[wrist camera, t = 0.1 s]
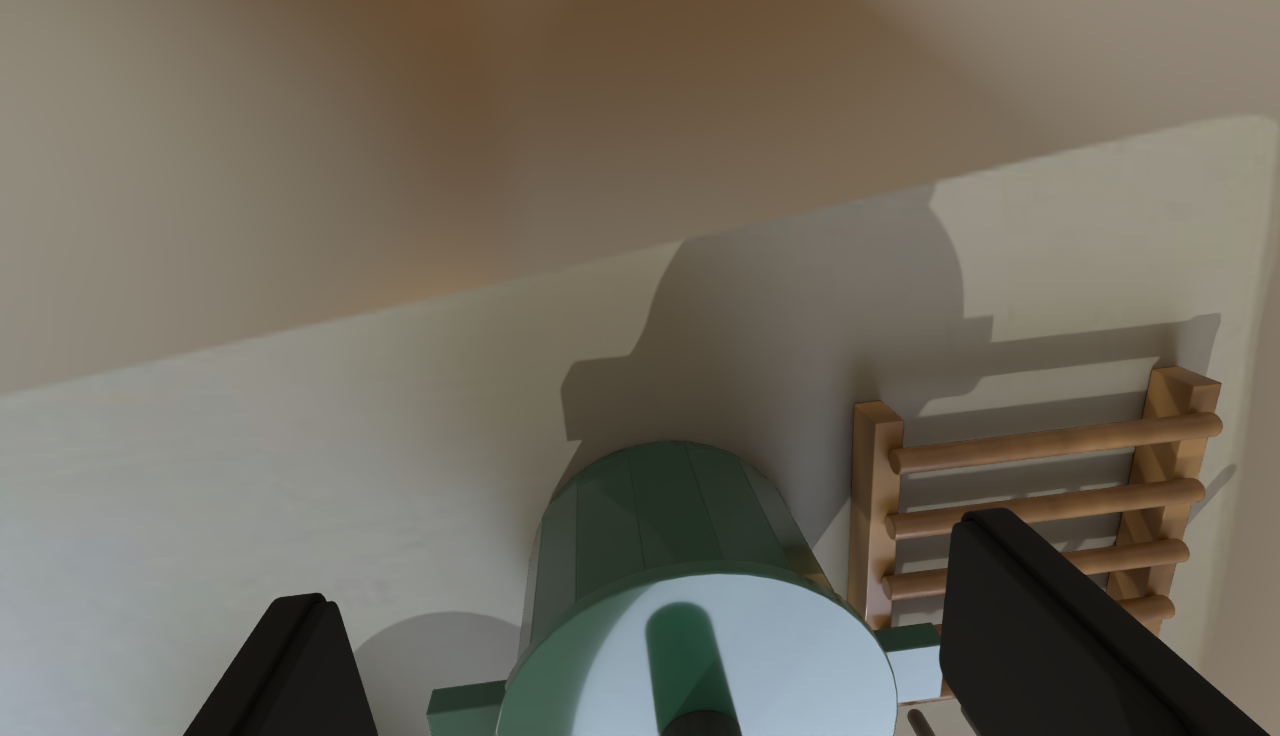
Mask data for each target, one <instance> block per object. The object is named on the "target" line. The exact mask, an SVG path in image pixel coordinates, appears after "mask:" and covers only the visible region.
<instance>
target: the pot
mask: <svg viewBox="0 0 1280 736" xmlns="http://www.w3.org/2000/svg"><path fill="white" fill-rule="evenodd" d="M714 559H715V560H740V561H748V562H755V563H761V564H767V565H772V566H775V567H779V568H782V569H786V570H789V571H793V572H796V573H798V574H800V575H803V576H805V577H807V578H810V579H812V580H814V581H816V582H818V583H820V584H822V585H823V586H825V587H827V588H828V589H830V590H831V591H833V592H834V590H833V588H832V587H831V585H830V583H829V581H828V579H827V578H826V576H825V574H824V572H823V570H822V569H821V567H820V565H819V563H818V562H817V560H816V558H815V556H814V554H813V553H812V551H811V549H810V547H809V545H808V544H807V542H806V540H805V538H804V536H803V535H802V533H801V531H800V529H799V527H798V526H797V524H796V522H795V520H794V518H793V517H792V515H791V513H790V511H789V510H788V508H787V506H786V504H785V502H784V501H783V499H782V497H781V495H780V493H779V492H778V490H777V488H775V486H773V485H772V484H771V483H770V482H769V481H768V480H767V478H766V477H765V476H763V475H762V474H761V473H760V472H759V471H758V470H757V469H755V468H754V467H753V466H751V465H750V464H748V463H747V462H745V461H744V460H742V459H741V458H739V457H737V456H734V455H732V454H730V453H728V452H726V451H723V450H720V449H717V448H714V447H711V446H707V445H702V444H696V443H691V442H675V441H671V442H654V443H649V444H643V445H637V446H634V447H630V448H627V449H624V450H620V451H618V452H615V453H613V454H611V455H609V456H606V457H604V458H602V459H600V460H598V461H597V462H595V463H593V464H592V465H590V466H588V467H587V468H585V469H584V470H583V471H581V472H580V473H579V474H577V475H576V476H575V477H574V478H572V479H571V480H570V481H569V482H568V483H567V484H566V485H565V486H564V487H563V488H562V489H561V490H560V492H559V493H558V494H557V496H556V497H555V498H554V499H553V501H552V502H551V503H550V505H549V507H548V509H547V510H546V512H545V514H544V516H543V517H542V520H541V522H540V525H539V528H538V530H537V533H536V538H535V542H534V547H533V550H532V554H531V557H530V560H529V569H528V577H527V585H526V593H525V601H524V609H523V617H522V625H521V633H520V642H519V650H518V658H517V661H518V659H519V658H520V656H521V654H522V653H523V651H524V650H525V649H526V648H527V647H528V645H529V644H530V643H531V642H532V640H533V639H534V638H535V637H536V636H537V634H538V633H539V632H540V631H541V630H542V629H543V628H544V627H546V626H547V625H548V624H549V623H550V622H551V621H552V620H553V619H554V618H555V617H556V616H557V615H559V614H560V613H561V612H563V611H564V610H566V609H567V608H568V607H570V606H571V605H572V604H574V603H575V602H577V601H578V600H579V599H581V598H583V597H585V596H586V595H588V594H590V593H592V592H594V591H595V590H597V589H599V588H601V587H603V586H605V585H607V584H609V583H612V582H614V581H617V580H619V579H621V578H624V577H626V576H628V575H631V574H635V573H638V572H641V571H645V570H648V569H651V568H655V567H659V566H664V565H670V564H675V563H681V562H686V561H700V560H714ZM873 632H874V633H875V635H876V637H877V638H878V640H879V642H880V643H881V645H882V647H883V648H884V650H885V652H886V654H887V656H888V659H889V661H890V664H891V666H892V669H893V672H894V676H895V682H896V687H897V693H898V703H905V702H912V701H919V700H926V699H933V698H940V697H941V690H942V681H943V675H942V672H941V668H940V664H939V650H940V640H941V635H940V634H939V632H938V631H937V630H936V628H935V627H934V625H933V624H932V623H923V624H915V625H908V626H900V627H893V628H885V629H878V630H873ZM506 682H507V680H501V681H493V682H486V683H479V684H471V685H464V686H456V687H449V688H442V689H434V690H433V691H432V695H431V699H430V702H429V706H428V710H427V713H426V715H427V719H428V723H429V726H430V730H431V734H432V736H495V725H496V718H497V712H498V708H499V703H500V699H501V694H502V692H503V689H504V687H505V684H506Z"/></svg>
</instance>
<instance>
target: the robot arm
mask: <svg viewBox="0 0 1280 736" xmlns="http://www.w3.org/2000/svg"><path fill="white" fill-rule="evenodd" d="M939 664H940V668H941V672H942V675H943V677H944V679H945V681H946V683H947V685H948V686H949V688H950V689H951V691H952V692H953V694H954V695H955V697H956V698H957V700H958V701H959V703H960V704H961V706H962V707H963V709H964V710H965V712H966V713H967V715H968V716H969V718H970V719H971V721H972V722H973V724H974V725H975V727H976V728H977V730H978V731H979V733H980V734H981V736H1270V735H1269V734H1268V733H1267V732H1266V731H1265V730H1263V729H1262V728H1261V727H1260V726H1259V725H1258V724H1256V723H1255V722H1254V721H1253V720H1252V719H1250V718H1249V717H1248V716H1247V715H1246V714H1245V713H1244V712H1243V711H1241V710H1240V709H1239V708H1238V707H1237V706H1236V705H1235V704H1233V703H1232V702H1231V701H1230V700H1229V699H1227V698H1226V697H1225V696H1224V695H1223V694H1222V693H1221V692H1220V691H1218V690H1217V689H1216V688H1215V687H1214V686H1212V684H1210V683H1209V682H1208V681H1207V680H1206V679H1205V678H1203V677H1202V676H1201V675H1200V674H1199V673H1198V672H1197V671H1195V670H1194V669H1193V668H1192V667H1191V666H1190V665H1188V664H1187V663H1186V662H1185V661H1184V660H1183V659H1182V658H1180V657H1179V656H1178V655H1177V654H1176V653H1175V652H1174V651H1172V650H1171V649H1170V648H1169V647H1168V646H1167V645H1165V644H1164V643H1163V642H1162V641H1161V640H1160V639H1159V638H1157V637H1156V636H1155V635H1154V634H1153V633H1152V632H1150V631H1149V630H1148V629H1147V628H1146V627H1145V626H1144V625H1142V624H1141V623H1140V622H1139V621H1138V620H1137V619H1136V618H1134V617H1133V616H1132V615H1131V614H1130V613H1129V612H1127V611H1126V610H1125V609H1124V608H1123V607H1122V606H1121V605H1119V604H1118V603H1117V602H1116V601H1115V600H1114V599H1112V598H1111V597H1110V596H1109V595H1108V594H1107V593H1106V592H1104V591H1103V590H1102V589H1101V588H1100V587H1099V586H1098V585H1096V584H1095V583H1094V582H1093V581H1092V580H1091V579H1089V578H1088V577H1087V576H1086V575H1085V574H1084V573H1083V572H1081V571H1080V570H1079V569H1078V568H1077V567H1076V566H1074V565H1073V564H1072V563H1071V562H1070V561H1069V560H1068V559H1066V558H1065V557H1064V556H1063V555H1062V554H1061V553H1059V552H1058V551H1057V550H1056V549H1055V548H1054V547H1053V546H1051V545H1050V544H1049V543H1048V542H1047V541H1046V540H1045V539H1043V538H1042V537H1041V536H1040V535H1039V534H1038V533H1036V532H1035V531H1034V530H1033V529H1032V528H1031V527H1030V526H1028V525H1027V524H1026V523H1025V522H1024V521H1023V520H1021V519H1020V518H1019V517H1018V516H1017V515H1016V514H1015V513H1013V512H1012V511H1011V510H1009V509H1008V508H1003V507H999V508H991V509H983V510H975V511H968V512H966V513H964V514H963V516H962V518H961V522H958V523H955V524H954V526H953V527H952V532H951V542H950V551H949V561H948V571H947V581H946V591H945V601H944V610H943V620H942V630H941V640H940V650H939ZM183 736H378V733H377V730H376V726H375V723H374V720H373V717H372V713H371V710H370V707H369V704H368V701H367V697H366V694H365V691H364V688H363V685H362V681H361V678H360V675H359V672H358V668H357V665H356V662H355V659H354V656H353V652H352V649H351V646H350V643H349V639H348V636H347V633H346V630H345V627H344V623H343V620H342V617H341V614H340V610H339V608H338V606H337V604H336V603H335V602H333V601H329V602H327V601H326V599H325V597H324V596H323V595H322V594H321V593H310V594H302V595H294V596H286V597H279V598H277V599H275V600H274V601H273V602H272V603H271V605H270V606H269V607H268V609H267V610H266V612H265V613H264V615H263V616H262V618H261V619H260V621H259V622H258V624H257V625H256V627H255V628H254V630H253V631H252V633H251V634H250V636H249V637H248V639H247V640H246V642H245V643H244V645H243V646H242V648H241V649H240V651H239V652H238V654H237V655H236V657H235V658H234V660H233V661H232V663H231V664H230V666H229V667H228V669H227V670H226V672H225V673H224V675H223V676H222V678H221V679H220V681H219V682H218V684H217V685H216V687H215V688H214V690H213V691H212V693H211V694H210V696H209V697H208V699H207V700H206V702H205V703H204V705H203V706H202V708H201V709H200V711H199V712H198V714H197V715H196V717H195V718H194V720H193V721H192V723H191V724H190V726H189V727H188V729H187V730H186V732H185V733H184V735H183Z"/></svg>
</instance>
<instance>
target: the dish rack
mask: <svg viewBox="0 0 1280 736" xmlns="http://www.w3.org/2000/svg"><path fill="white" fill-rule="evenodd" d="M1221 384H1222V383H1220V382H1218V381H1215V380H1213V379H1210V378H1207V377H1205V376H1202V375H1199V374H1197V373H1194V372H1192V371H1189V370H1186V369H1184V368H1181V367H1178V366H1177V367H1169V368H1160V369H1153V370H1152V373H1151V378H1150V383H1149V387H1148V392H1147V397H1146V402H1145V407H1144V411H1143V416H1142V419H1141V420H1133V421H1125V422H1116V423H1108V424H1100V425H1091V426H1083V427H1074V428H1066V429H1058V430H1049V431H1041V432H1033V433H1024V434H1016V435H1008V436H999V437H991V438H983V439H974V440H966V441H958V442H949V443H941V444H933V445H924V446H916V447H907V448H903V432H904V420H903V419H902V418H901V417H900V416H899V415H898V414H896V413H895V412H894V411H893V410H892V409H891V408H890V407H888V406H887V405H886V404H885V403H884V402H883V401H875V402H867V403H858V404H855V406H854V435H853V463H852V492H851V520H850V549H849V577H848V603H849V604H850V605H851V606H852V607H854V608H855V609H856V610H857V611H858V612H859V614H860V615H861V616H862V617H863V618H864V619H865V621H866V622H867V623H868V624H869V625H870V627H871V628H872V630H878V629H885V628H891V616H892V601H894V600H901V599H909V598H916V597H924V596H932V595H939V594H945V591H946V581H947V571H948V568H941V569H934V570H926V571H918V572H911V573H903V574H895V575H894V570H895V555H896V540H903V539H910V538H918V537H926V536H934V535H942V534H950V533H951V532H952V527H953V526H954V524H955V523H958V522H961V518H962V516H963V514H964V513H966V512H968V511H975V510H983V509H991V508H999V507H1003V508H1008V509H1009V510H1011V511H1012V512H1013V513H1015V514H1016V515H1017V516H1018V517H1019V518H1020V519H1021V520H1023V521H1024V522H1025V523H1026V524H1028V523H1036V522H1044V521H1052V520H1059V519H1067V518H1075V517H1083V516H1091V515H1099V514H1106V513H1114V512H1122V511H1123V512H1122V517H1121V522H1120V526H1119V531H1118V536H1117V541H1116V546H1110V547H1103V548H1095V549H1087V550H1080V551H1072V552H1064V553H1061V554H1062V555H1063V556H1064V557H1065V558H1066V559H1068V560H1069V561H1070V562H1071V563H1072V564H1073V565H1074V566H1076V567H1077V568H1078V569H1079V570H1080V571H1081V572H1083V573H1084V574H1085V575H1090V574H1098V573H1105V572H1110V574H1109V579H1108V584H1107V589H1106V593H1107V594H1108V595H1109V596H1110V597H1111V598H1112V599H1114V600H1115V601H1116V602H1117V603H1118V604H1119V605H1121V606H1122V607H1123V608H1124V609H1125V610H1126V611H1127V612H1129V613H1130V614H1131V615H1132V616H1133V617H1134V618H1136V619H1137V620H1138V621H1139V622H1140V623H1141V624H1142V625H1144V626H1145V627H1146V628H1147V629H1148V630H1149V631H1150V632H1152V633H1153V634H1154V635H1155V636H1156V637H1157V638H1158V635H1159V631H1160V627H1161V623H1162V619H1167V618H1172V617H1173V616H1174V615H1175V607H1174V605H1173V603H1172V601H1171V600H1170V599H1169V598H1168V595H1169V591H1170V587H1171V583H1172V579H1173V575H1174V571H1175V567H1176V564H1177V563H1181V562H1185V561H1187V560H1188V559H1189V556H1190V553H1189V549H1188V547H1187V546H1186V544H1185V543H1184V542H1183V541H1182V540H1183V536H1184V532H1185V528H1186V524H1187V520H1188V516H1189V512H1190V508H1191V504H1192V503H1193V502H1199V501H1201V500H1203V499H1204V497H1205V488H1204V486H1203V484H1202V483H1201V482H1200V481H1199V480H1198V476H1199V472H1200V468H1201V464H1202V460H1203V456H1204V452H1205V448H1206V444H1207V440H1208V437H1214V436H1217V435H1218V434H1220V433H1221V431H1222V428H1223V425H1222V421H1221V419H1220V418H1219V417H1218V416H1217V415H1216V414H1214V412H1215V408H1216V404H1217V400H1218V396H1219V392H1220V388H1221ZM1133 446H1136V450H1135V455H1134V459H1133V464H1132V469H1131V474H1130V479H1129V483H1128V485H1126V486H1118V487H1110V488H1102V489H1094V490H1086V491H1078V492H1070V493H1062V494H1054V495H1046V496H1038V497H1030V498H1022V499H1014V500H1006V501H998V502H990V503H982V504H974V505H966V506H958V507H950V508H942V509H934V510H926V511H918V512H910V513H902V514H898V509H899V493H900V478H901V475H903V474H911V473H920V472H928V471H936V470H944V469H952V468H961V467H969V466H977V465H985V464H993V463H1002V462H1010V461H1018V460H1026V459H1034V458H1043V457H1051V456H1059V455H1067V454H1075V453H1084V452H1092V451H1100V450H1108V449H1116V448H1125V447H1133ZM934 627H935V628H936V630H937V631H938V632H939V634H940V635H941V630H942V624H936V625H934ZM949 699H956V697H955V695H954V694H953V692H952V691H951V689H950V688H949V686H948V685H947V683H946V681H945V679H944V677H943V681H942V690H941V697H940V698H933V699H926V700H919V701H912V702H905V703H898V707H900V706H907V705H914V704H921V703H928V702H935V701H942V700H949ZM961 712H962V714H963V715H964V717H965V718H966V720H967V721H968V723H969V725H970V726H971V728H972V729H973V731H974V732H975V734H976V735H977V736H981V734H980V733H979V731H978V730H977V728H976V727H975V725H974V724H973V722H972V721H971V719H970V718H969V716H968V715H967V713H966V712H965V710H964V709H963V707H962V706H961ZM907 717H908V720H909V722H910V724H911V726H912V728H913V729H914V731H915V733H916V735H917V736H935V734H934V732H933V731H932V729H931V727H930V726H929V724H928V722H927V720H926V719H925V717H924V715H923V714H922V712H921V711H919V710H917V709H911V710H910V711H909V712H908V715H907Z"/></svg>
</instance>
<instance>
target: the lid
mask: <svg viewBox="0 0 1280 736" xmlns="http://www.w3.org/2000/svg"><path fill="white" fill-rule="evenodd" d="M897 714H898V693H897V687H896V682H895V676H894V672H893V669H892V666H891V664H890V661H889V659H888V656H887V654H886V652H885V650H884V648H883V647H882V645H881V643H880V642H879V640H878V638H877V637H876V635H875V633H874V632H873V630H872V628H871V627H870V625H869V624H868V623H867V622H866V621H865V619H864V618H863V617H862V616H861V615H860V614H859V612H858V611H857V610H856V609H855V608H854V607H852V606H851V605H850V604H849V603H848V602H847V601H845V600H844V599H843V598H842V597H841V596H839V595H838V594H836V593H835V592H833V591H831V590H830V589H828V588H827V587H825V586H823V585H822V584H820V583H818V582H816V581H814V580H812V579H810V578H807V577H805V576H803V575H800V574H798V573H796V572H793V571H789V570H786V569H782V568H779V567H775V566H772V565H767V564H761V563H755V562H748V561H740V560H715V559H714V560H700V561H686V562H681V563H675V564H670V565H664V566H659V567H655V568H651V569H648V570H645V571H641V572H638V573H635V574H631V575H628V576H626V577H624V578H621V579H619V580H617V581H614V582H612V583H609V584H607V585H605V586H603V587H601V588H599V589H597V590H595V591H594V592H592V593H590V594H588V595H586V596H585V597H583V598H581V599H579V600H578V601H577V602H575V603H574V604H572V605H571V606H570V607H568V608H567V609H566V610H564V611H563V612H561V613H560V614H559V615H557V616H556V617H555V618H554V619H553V620H552V621H551V622H550V623H549V624H548V625H547V626H546V627H544V628H543V629H542V630H541V631H540V632H539V633H538V634H537V636H536V637H535V638H534V639H533V640H532V642H531V643H530V644H529V645H528V647H527V648H526V649H525V650H524V651H523V653H522V654H521V656H520V658H519V659H518V661H517V663H516V664H515V666H514V668H513V669H512V671H511V673H510V675H509V677H508V680H507V682H506V684H505V687H504V689H503V692H502V694H501V699H500V703H499V708H498V712H497V718H496V725H495V736H894V733H895V727H896V721H897Z"/></svg>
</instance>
